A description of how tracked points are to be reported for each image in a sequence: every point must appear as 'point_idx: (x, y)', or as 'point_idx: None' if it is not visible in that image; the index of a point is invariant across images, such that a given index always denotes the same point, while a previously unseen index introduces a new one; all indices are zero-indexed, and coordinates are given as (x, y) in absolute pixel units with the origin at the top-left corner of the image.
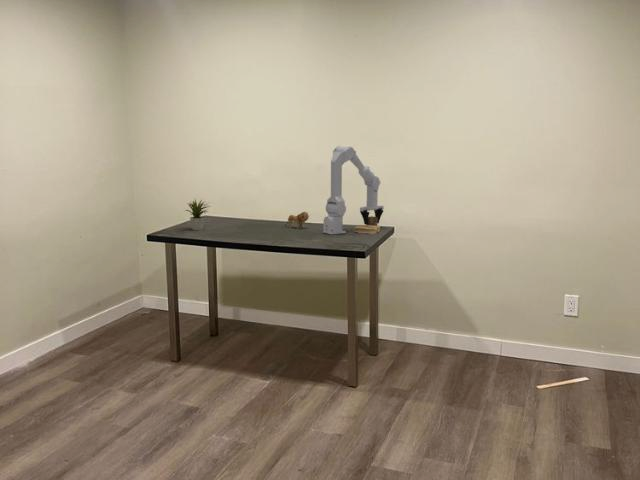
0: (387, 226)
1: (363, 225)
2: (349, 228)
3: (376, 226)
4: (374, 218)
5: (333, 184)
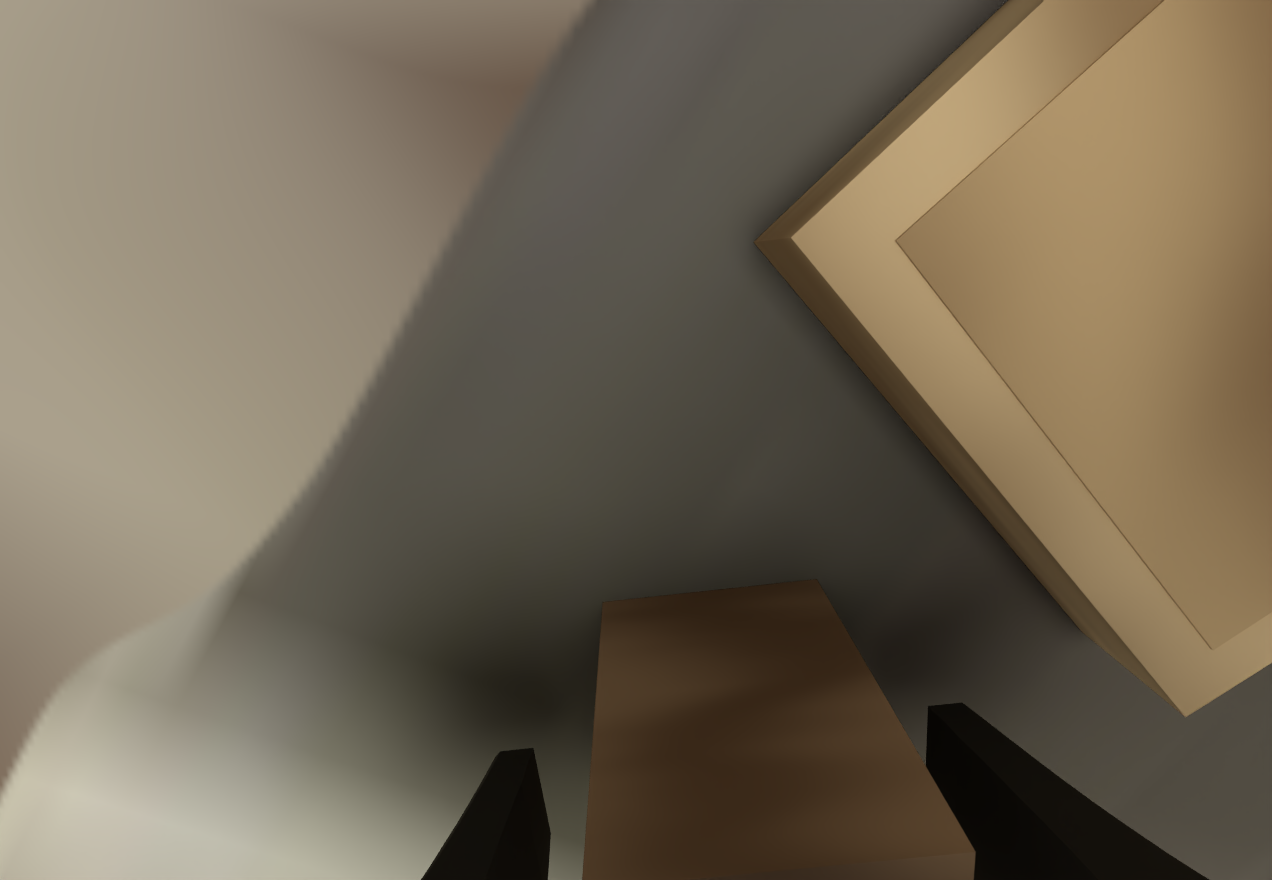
0: (223, 725)
1: (1229, 559)
2: (1170, 818)
3: (1022, 170)
4: (757, 835)
5: None
